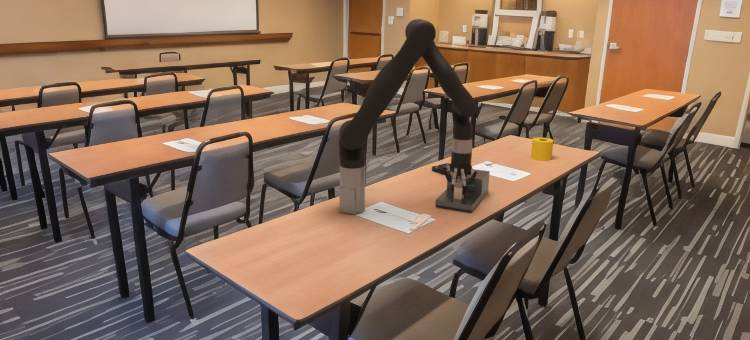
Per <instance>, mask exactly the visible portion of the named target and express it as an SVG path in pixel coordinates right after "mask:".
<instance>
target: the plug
mask: <svg viewBox="0 0 750 340" xmlns="http://www.w3.org/2000/svg"><path fill="white" fill-rule="evenodd" d="M462 188H463V180H459V179H457V180H456V181H455V182H454V199H460V200H463V199H464V195H462Z"/></svg>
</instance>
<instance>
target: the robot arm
mask: <svg viewBox="0 0 750 340" xmlns="http://www.w3.org/2000/svg"><path fill="white" fill-rule="evenodd" d="M404 33H405V34H404V36H405V38H406V39H405V40H404V43H403V44H402V45H401V47H400V49H399V50H398V52H397V53H396V54H395V55H394V56H393V57H392V58H391V59H390V60H389V61H388V62H386V63H385V65H384V66H383V67H382V68H381V69H380V70H379V72H378V73H377V75H376V76H375V78H374V79H373V81H372V82H371V84H369V85H370V86H368V87H369V88H368V89H367V91H366V94H365V96H364V99H363V101H362V103H361V105H360V107H359V109H358V111H357V112H356V113H355V115H354V116H353V118H352V119H350V120H346V121H345V122H343V123H341V125H340V127H339V130H338V131H339V132H338V142H339V143H338V145H339V146H338V147H339V149H338V151H339V155H338V156H339V191H338V192H339V193H338V194H339V195H338V196H339V197H338V198H339V213H343V214H349V215H356V214H360V213H363V212H364V211H365V210H366V154H365V153H366V151H365V147H366V146H365V143H366V141H367V138H368V137H369V135H370V133H371V131H372V130H373V127H374V126H375V124H376V122H377V121H378V119H380V117H381V116H382V114H383V113H384V111H385V110H386V109H387V107H388V106H390V103H392V101H393V100H394V98H395V96H396V95H397V94H398V92H399V91H400V89H401V87H402V86H403V84H404V83H405V81H406V80H407V78H408V77H409V75H410V73H412V71H413V68H414V67H415V65H416V64H417V62H418V61H419V60H420V59H421V58H422V59H423V60H424V62H425V63H426V64H427V66H428V68H429V69H430V71H431V73H432V74H433V76H434V78H435V80H436V81H437V82H438V83H437V84H439V86H440V88H441V89H442V91H443V93H444V94H445V95H446V96H447V97H448V98H449V99H450V100H451V101H452V103H451V114H452V122H453V128H452V129H453V131H452V142H451V154H450V155H451V157H450V163H449V164H450V165H449V166H445V167H444V168H443V171H444V173H445V175H444V176H445V179H446V182H447V181H448V182H450V183H452V192H453V193H454V182H455V181H456V180H457V177H458V176H461V177H462V180H463V188H462V195H464V194H466V192H467V185H471V184H472V183H473V181H474V179H475V177H476V175H477V174H478V170H479V169H476V170H474V168H473V166H472V154H473V128H474V127H473V124H472V122H471V120H470V118H471V117H474V116H475V114H476V113H477V109H478V105H477V102H476V101H475V98H474V97H473V95H472V94H471V93H470V92H469V90H467V88H466V87H465V86H464V85H463V82H462V80H461V79H460V77H459V76H458V74H457V72H456V70H454V68H453V67H452V65H451V64H450V62H448V60H447V59H446V57H444V54H443V53H442V52H441V51H440V50H439V48H438V46H437V45H436V44H437V43H435V40H436V34H437V31H436V28H435V26H434V24H433V23H432V22H430V21H428V20H426V19H421V18H416V19H411V20H410V21H409V22H408V23H407V24H406V27H405V30H404ZM450 169H451V170H452V172H453V179H452V177H451V174H450V172H449V171H450ZM470 171H471V175H472V177H471V178H470V180H469V181H468V179H467V178H468V175H467V174H468V173H469V172H470Z"/></svg>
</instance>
